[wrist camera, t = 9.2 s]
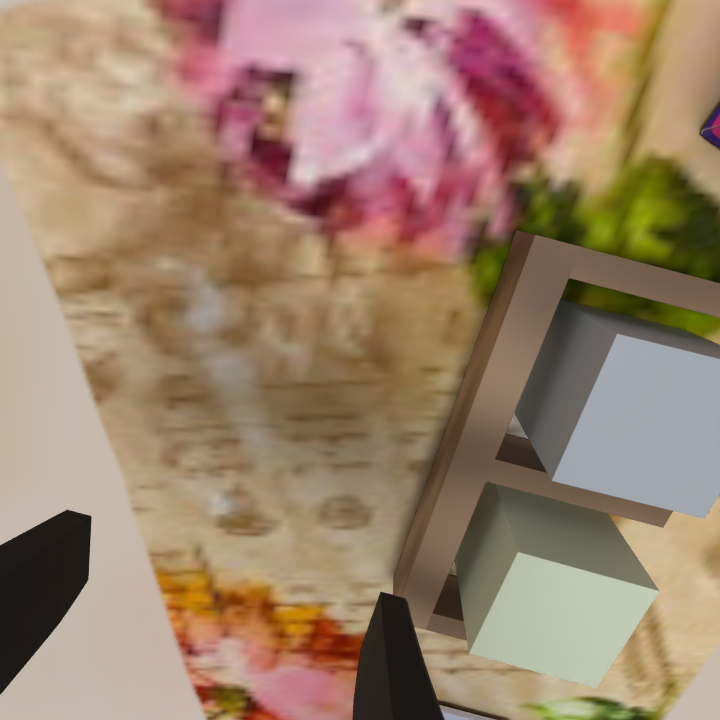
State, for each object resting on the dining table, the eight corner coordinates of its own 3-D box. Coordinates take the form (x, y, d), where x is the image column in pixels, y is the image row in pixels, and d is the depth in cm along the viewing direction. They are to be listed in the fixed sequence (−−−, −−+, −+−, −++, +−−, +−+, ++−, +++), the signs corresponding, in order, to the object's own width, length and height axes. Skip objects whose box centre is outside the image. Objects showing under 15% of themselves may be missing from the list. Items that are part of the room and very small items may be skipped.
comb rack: (559, 620, 22) (578, 669, 20) (393, 577, 22) (392, 621, 20) (740, 289, 17) (796, 303, 14) (516, 230, 17) (535, 234, 14)
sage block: (554, 583, 22) (596, 688, 17) (454, 556, 22) (469, 653, 17) (599, 500, 20) (659, 591, 15) (490, 470, 20) (517, 552, 15)
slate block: (629, 440, 19) (704, 518, 14) (514, 412, 19) (551, 480, 14) (684, 329, 17) (790, 376, 13) (558, 298, 17) (617, 333, 13)
